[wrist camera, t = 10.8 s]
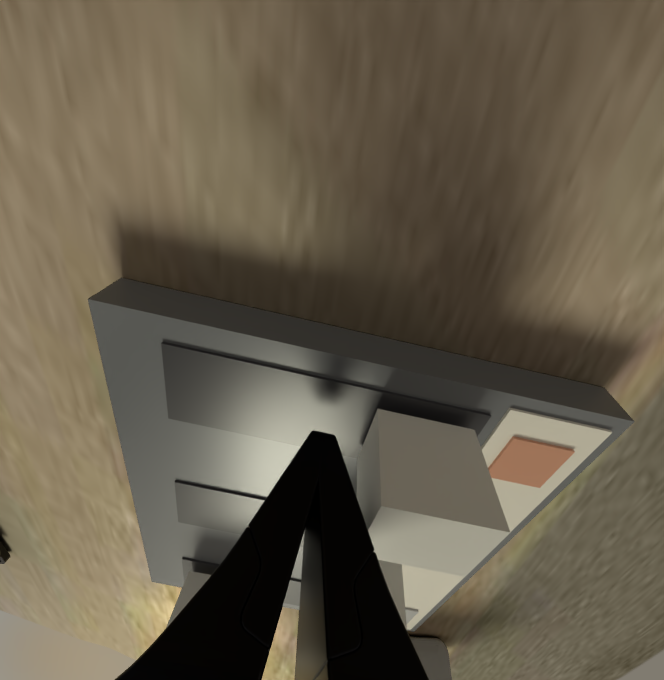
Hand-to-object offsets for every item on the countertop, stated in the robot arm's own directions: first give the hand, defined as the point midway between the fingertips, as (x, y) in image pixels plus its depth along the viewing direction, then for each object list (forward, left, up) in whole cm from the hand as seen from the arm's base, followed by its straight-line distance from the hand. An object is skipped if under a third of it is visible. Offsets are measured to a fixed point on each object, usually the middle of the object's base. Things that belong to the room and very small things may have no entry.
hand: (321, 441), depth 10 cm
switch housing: (+1, -7, -3) cm, 8 cm away
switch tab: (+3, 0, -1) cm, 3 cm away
